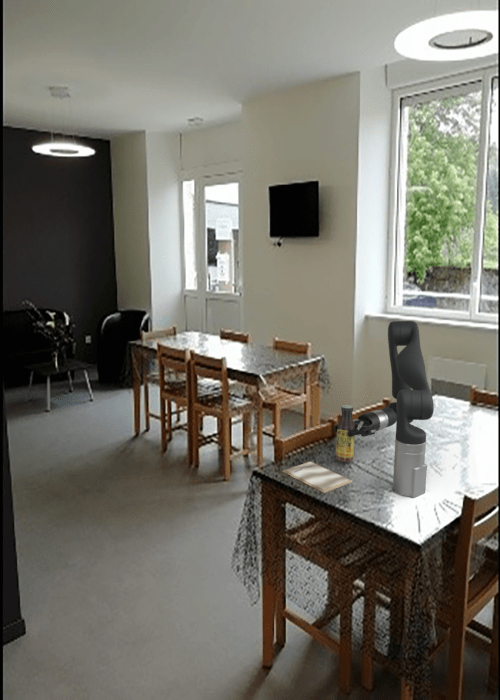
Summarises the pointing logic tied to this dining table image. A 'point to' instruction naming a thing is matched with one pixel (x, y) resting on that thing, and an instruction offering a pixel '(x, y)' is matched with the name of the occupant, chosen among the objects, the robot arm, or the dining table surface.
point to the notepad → (317, 476)
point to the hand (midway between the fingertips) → (341, 431)
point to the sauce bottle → (345, 435)
